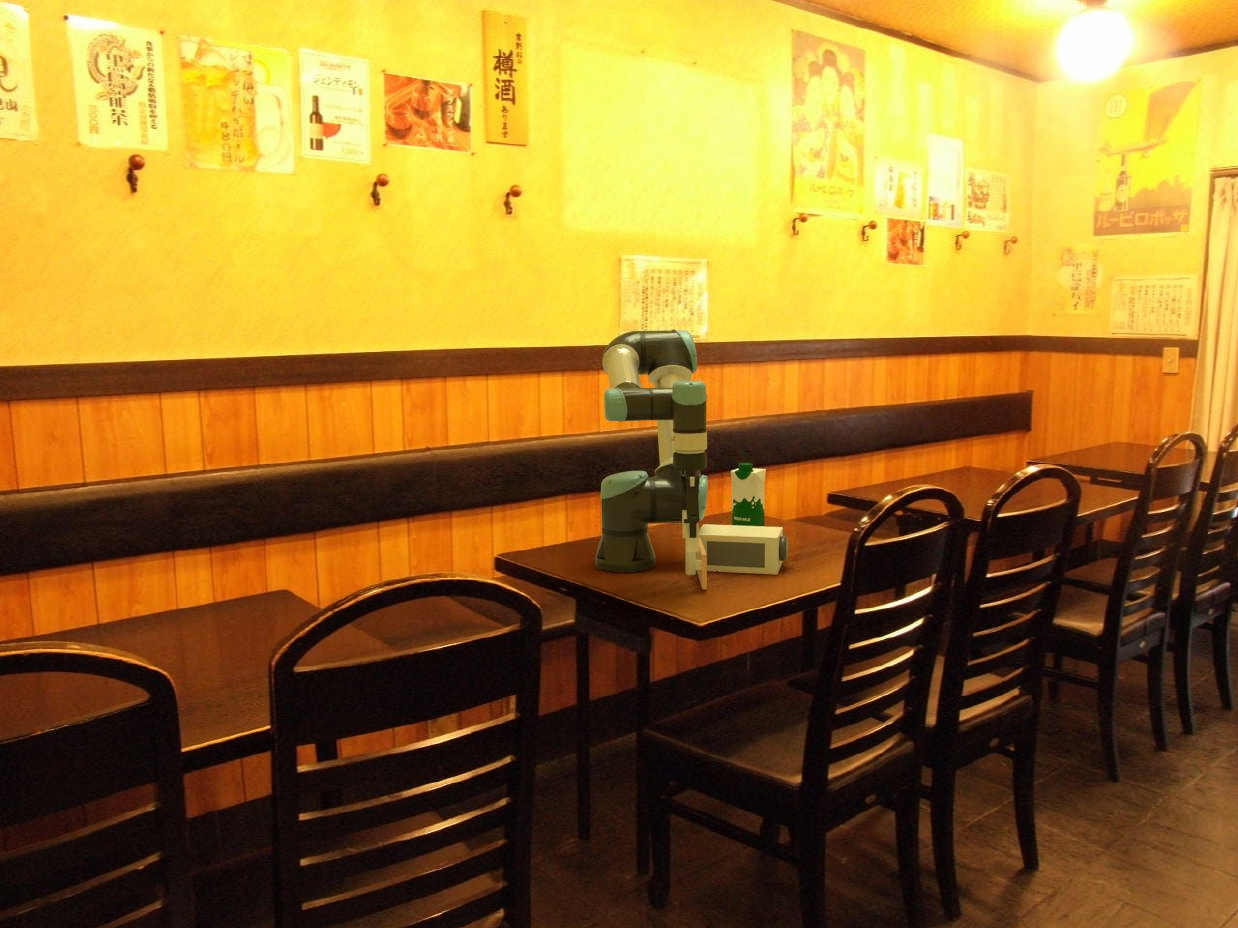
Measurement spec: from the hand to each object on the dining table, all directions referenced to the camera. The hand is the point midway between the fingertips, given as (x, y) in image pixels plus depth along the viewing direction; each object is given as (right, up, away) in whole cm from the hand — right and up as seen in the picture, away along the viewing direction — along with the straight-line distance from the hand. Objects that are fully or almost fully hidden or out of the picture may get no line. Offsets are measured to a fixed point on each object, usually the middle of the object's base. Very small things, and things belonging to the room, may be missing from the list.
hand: (690, 544), depth 220 cm
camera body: (+14, -7, +22) cm, 27 cm away
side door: (+1, -9, +9) cm, 13 cm away
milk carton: (+21, -1, +61) cm, 64 cm away
